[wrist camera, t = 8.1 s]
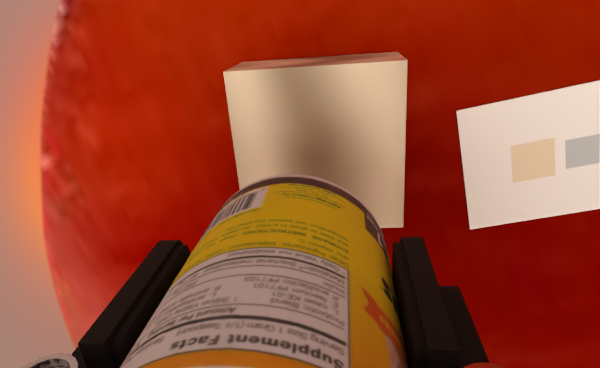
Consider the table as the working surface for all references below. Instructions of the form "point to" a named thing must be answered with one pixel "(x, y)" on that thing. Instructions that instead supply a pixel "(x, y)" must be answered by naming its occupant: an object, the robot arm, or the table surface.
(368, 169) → the pedestal
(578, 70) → the table surface
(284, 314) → the supplement bottle
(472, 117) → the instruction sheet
